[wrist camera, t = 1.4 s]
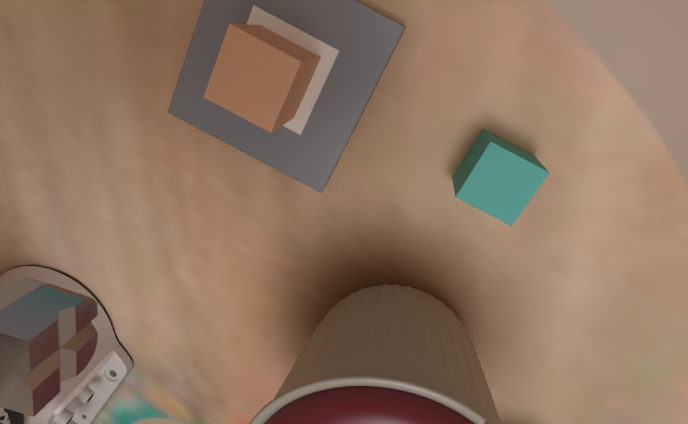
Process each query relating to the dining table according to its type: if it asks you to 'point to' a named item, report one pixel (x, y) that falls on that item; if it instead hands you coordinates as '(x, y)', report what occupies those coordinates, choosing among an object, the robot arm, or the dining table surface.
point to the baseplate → (322, 93)
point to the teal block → (498, 178)
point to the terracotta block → (260, 75)
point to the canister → (385, 366)
